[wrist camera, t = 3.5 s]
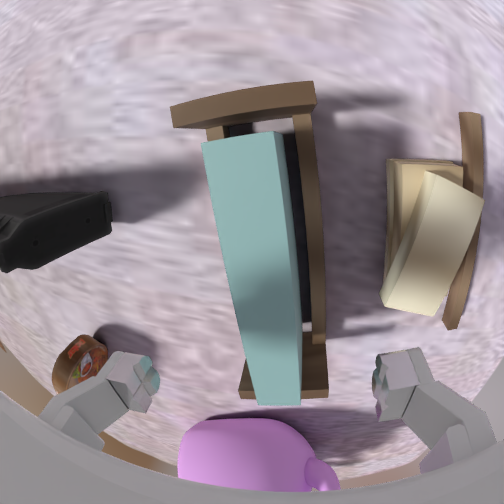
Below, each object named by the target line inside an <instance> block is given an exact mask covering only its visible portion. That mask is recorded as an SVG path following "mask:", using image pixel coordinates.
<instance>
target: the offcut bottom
mask: <svg viewBox="0 0 504 504" xmlns="http://www.w3.org/2000/svg"><path fill="white" fill-rule="evenodd" d="M393 161H404V162H432V163H449V164H453V162H451V161H446V160H426V159H386V173H387V231H386V251H385V265H384V276H383V284H384V281H385V279H386V277H387V275H388V273H389V270H390V263H391V252H392V238H393V216H394V169H393Z"/></svg>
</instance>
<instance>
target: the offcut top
mask: <svg viewBox="0 0 504 504" xmlns="http://www.w3.org/2000/svg"><path fill="white" fill-rule="evenodd" d="M484 202H485V200H484V199H482V198H480V197H479V196H477V195H475V194H473V193H472V192H470V191H468V190H466V189H464V188H462V187H461V186H459V185H457V184H455V183H453V182H451V181H449V180H447V179H445V178H443V177H441V176H439V175H436V174H434V173H431V172H428V171H425V173H424V177H423V180H422V183H421V187H420V190H419V193H418V196H417V199H416V203H415V206H414V209H413V211H412V214H411V217H410V220H409V223H408V226H407V228H406V231H405V234H404V236H403V239H402V241H401V244H400V246H399V249H398V251H397V254H396V256H395V259H394V261H393V263H392V266H391V268H390V270H389V273H388V275H387V277H386V279H385V281H384V284H383V286H382V288H381V290H380V292H379V295H380V298H381V300H382V302H383V304H384V306H385V307H388V308H393V309H398V310H403V311H408V312H412V313H417V314H422V315H427V316H432V317H433V316H434V315H435V313H436V311H437V310H438V308H439V306H440V304H441V302H442V301H443V299H444V297H445V295H446V293H447V291H448V289H449V287H450V285H451V283H452V281H453V279H454V277H455V275H456V273H457V271H458V269H459V267H460V265H461V262H462V260H463V258H464V256H465V253H466V251H467V249H468V246H469V244H470V241H471V239H472V236H473V234H474V231H475V228H476V226H477V223H478V220H479V217H480V214H481V211H482V208H483V205H484Z"/></svg>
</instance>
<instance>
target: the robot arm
mask: <svg viewBox="0 0 504 504" xmlns="http://www.w3.org/2000/svg"><path fill="white" fill-rule="evenodd" d="M375 363H376V367H377V368H376V369H375V370H374V371H373V376H372V391H373V396H374V397H375V398H376V399H377V403H376V406H375V407H376V413H377V418H378V422H381V421H388V420H394V419H400V418H402V421H403V422H404V423H405V424H406V425H407V426H408V427H409V428H410V429H411V430H412V431H413V432H414V433H415V434H416V435H417V436H418V437H419V438H420V439H421V440H422V441H423V442H424V443H425V444H426V445H427V447H428V448H429V449H431V451H430V452H429V453H428V454H427V455H426V456H425V458H424V459H423V460H422V461H421V462H420V471H421V474H419V475H415V476H412V477H408V478H404V479H400V480H396V481H391V482H386V483H382V484H376V485H371V486H365V487H357V488H350V489H341V490H330V491H314V492H275V491H257V490H246V489H237V488H229V487H222V486H216V485H210V484H205V483H199V482H195V481H190V480H186V479H181V478H177V477H173V476H169V475H166V474H162V473H159V472H155V471H152V470H149V469H146V468H143V467H140V466H137V465H134V464H131V463H129V462H126V461H123V460H121V459H118V458H115V457H113V456H111V455H108V454H106V453H104V452H101V450H102V448H103V446H104V441H103V440H102V439H101V438H100V437H99V436H98V434H99V433H100V432H101V431H103V430H104V429H106V428H107V427H108V426H110V425H111V424H112V423H113V422H115V421H116V420H117V419H119V418H120V417H121V416H123V415H124V414H125V413H126V412H128V411H129V410H133V411H137V412H142V413H146V412H147V410H148V408H149V406H150V404H151V403H152V398H151V396H152V395H154V394H155V393H157V391H158V389H159V385H160V378H159V374H158V372H157V371H156V370H155V369H154V368H153V367H152V361H151V359H150V357H149V356H145V355H139V354H133V353H127V352H120V351H116V352H114V353H113V354H112V355H111V357H110V358H109V359H108V361H107V362H106V363H105V365H104V366H103V367H102V369H101V370H100V371H99V373H98V374H97V375H96V377H95V376H92V377H90V378H88V379H87V380H85V381H83V382H81V383H79V384H77V385H75V386H73V387H72V388H70V389H68V390H66V391H64V392H62V393H60V394H58V395H56V396H54V397H53V398H52V399H51V400H50V401H49V403H48V404H47V405H46V407H45V408H44V410H43V411H42V412H41V414H40V415H39V417H37V416H35V415H33V414H32V413H31V412H29V411H27V410H26V409H25V408H23V407H22V406H21V405H19V404H18V403H16V402H15V401H14V400H12V399H11V398H10V397H8V396H7V395H6V394H5V393H3V392H2V391H1V390H0V504H504V440H502V441H500V442H498V443H497V441H496V438H495V436H494V433H493V430H492V427H491V425H490V422H489V419H488V417H487V414H486V412H484V411H483V410H481V409H480V408H478V407H477V406H475V405H474V404H472V403H471V402H470V401H468V400H467V399H465V398H464V397H462V396H461V395H459V394H458V393H456V392H455V391H453V390H452V389H450V388H449V387H447V386H446V385H444V384H443V383H441V382H440V381H435V380H434V378H433V375H432V373H431V370H430V368H429V366H428V363H427V361H426V359H425V357H424V354H423V352H422V350H421V349H420V348H419V347H417V348H412V349H407V350H401V351H395V352H389V353H383V354H378V355H377V357H376V362H375ZM128 409H129V410H128Z"/></svg>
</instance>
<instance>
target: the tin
mask: <svg viewBox="0 0 504 504" xmlns="http://www.w3.org/2000/svg"><path fill="white" fill-rule="evenodd" d="M107 361H108V351H107V347H106V346H105V345H104V344H101V343H100V342H98V341H97V340H95V339H94V338H93V337H91V336H89V335H80V336H78V337H77V338H76V339H75V340H74V341H72V342H71V343H70V344H69V345H68V346H67V347H66V349H65V350H64V351H63V352H62V353H61V354H60V355H59V356H58V358H57V360H56V362H55V365H54V368H53V372H52V383H53V386H54V389H55V391H56V393H57V395H58V394H60V393H62V392H64V391H66V390H68V389H70V388H72V387H73V386H75V385H77V384H79V383H81V382H83V381H85V380H87V379H88V378H90V377H92V376H95V377H96V375H97V374H98V373H99V371H100V370H101V369H102V367H103V366H104V365H105V363H106V362H107Z"/></svg>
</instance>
